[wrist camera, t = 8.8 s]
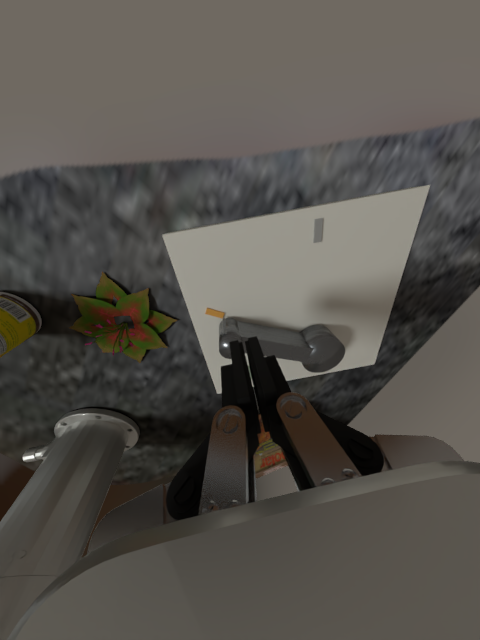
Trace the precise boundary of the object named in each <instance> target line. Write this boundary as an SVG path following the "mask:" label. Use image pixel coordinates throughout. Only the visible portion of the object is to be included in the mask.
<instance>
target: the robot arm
mask: <svg viewBox="0 0 480 640" xmlns="http://www.w3.org/2000/svg"><path fill="white" fill-rule="evenodd" d="M229 343H230V351H231V359H232V364H229V365H225V366H221V387H222V407H223V408H221V409H220V410H219V411H218V412H217V413H216V414H215V416H214V418H213V422H212V428H211V433H210V434H209V435H208V436H207V438H206V439H205V440H204V441H203V443H202V444H201V445H200V446H199V447H198V449H197V450H196V451H195V452H194V454H193V455H192V456H191V457H190V459H189V460H188V461H187V462H186V464H185V465H184V466H183V467H182V469H181V470H180V471H179V472H178V473H177V475H176V476H175V477H174V479H173V480H172V482H170V483H168V484H166V485H164V484H161V485H159V486H157V487H156V488H154V489H152V490H150V491H148V492H146V493H144V494H142V495H140V496H138V497H136V498H134V499H133V500H130V501H128V502H126V503H125V504H123V505H121V506H119V507H117V508H115V509H113V510H112V511H110V512H109V513H108V514H106V516H105V517H104V518H103V519H102V520H101V521H100V522H99V524H98V526H97V527H96V529H95V531H94V532H93V535H92V538H91V541H90V544H89V548H88V553H87V555H86V556H85V557H83V558H81V557H82V554H83V552H84V550H85V547H86V545H87V542H88V539H89V537H90V535H91V532H92V530H93V527H94V524H95V522H96V519H97V517H98V514H99V512H100V509H101V507H102V504H103V502H104V499H105V497H106V494H107V492H108V489H109V487H110V484H111V482H112V479H113V477H114V474H115V472H116V469H117V467H118V464H119V462H120V459H121V457H122V454H123V452H124V451H126V450H128V449H130V448H132V447H133V446H134V445H135V444H136V443H137V441H138V438H139V435H140V430H139V427H138V426H137V424H136V423H135V422H134V421H133V420H132V419H130V418H129V417H127V416H125V415H123V414H121V413H118V412H115V411H111V410H106V409H97V408H87V409H79V410H75V411H72V412H69V413H67V414H65V415H64V416H63V417H61V419H60V420H59V421H58V422H57V424H56V425H55V428H54V433H55V436H56V438H55V439H54V440H53V442H50V443H48V444H47V445H45V446H44V445H43V446H38V447H32V448H29V449H28V450H27V451H26V452H25V453H24V455H23V461H25V462H31V461H36V460H40V459H43V460H44V461H43V462H42V464H41V465H40V466H39V468H38V469H37V471H36V472H35V474H34V475H33V476H32V478H31V479H30V481H29V482H28V483H27V485H26V487H25V488H24V489H23V491H22V492H21V493H20V495H19V496H18V498H17V499H16V500H15V502H14V503H13V505H12V506H11V508H10V509H9V511H8V512H7V513H6V515H5V516H4V517H3V519H2V520H1V522H0V640H480V463H476V462H468V461H464V460H463V459H462V458H461V456H460V455H459V454H458V453H457V452H456V451H455V450H454V449H453V448H452V447H451V446H449V445H448V444H446V443H445V442H443V441H441V440H439V439H436V438H434V437H429V436H407V435H375V437H368V436H367V435H365V434H363V433H361V432H359V431H357V430H355V429H353V428H351V427H349V426H347V425H345V424H342V423H340V422H338V421H336V420H334V419H332V418H330V417H328V416H326V415H324V414H321V413H319V412H317V411H315V410H314V408H313V407H312V405H311V404H310V403H309V401H308V400H307V399H306V398H305V397H304V396H302V395H301V394H298V393H294V392H291V390H290V388H289V386H288V383H287V381H286V379H285V377H284V375H283V372H282V370H281V368H280V366H279V364H278V361H277V359H276V357H275V355H272V356H267V357H264V354H263V352H262V349H261V346H260V344H259V341H258V338H257V336H255V337H250V338H248V341H245V345H246V350H247V356H248V361H249V367H250V372H251V377H252V381H253V385H254V389H255V394H256V398H257V402H258V406H259V410H260V414H261V418H262V423H263V427H264V431H265V432H269V434H270V438H272V441H273V442H274V443H275V444H277V445H278V446H280V447H281V450H282V453H283V455H284V457H285V459H286V462H287V464H288V466H289V468H290V470H291V473H292V475H293V477H294V480H295V482H296V484H297V487H298V489H299V491H298V492H294V493H290V494H286V495H282V496H278V497H273V498H269V499H265V500H261V501H257V500H256V477H255V456H254V453H255V452H256V450H257V448H258V447H259V445H260V444H259V440H258V435H257V434H260V433H261V427H260V422H259V416H258V411H257V405H256V400H255V395H254V390H253V386H252V382H251V377H250V373H249V369H248V365H247V360H246V356H245V352H244V348H243V343H242V342H238V340H236V341H231V342H229Z"/></svg>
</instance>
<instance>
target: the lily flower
mask: <svg viewBox="0 0 480 640" xmlns="http://www.w3.org/2000/svg"><path fill="white" fill-rule="evenodd" d="M148 291H149V288H148V289H146V290H143V291H140V292H138V293H137V294H136V293H133V294H130V295H127V294H126V293H125V292H124V291H123V290H122V289H121V288H120V287H119V286H117V285H116V284H115V283H114V282H113V281H112V280H111V279H109V278H107V276H106V275H105V274H104V273H103V272H102V276H101V278H100V284H98V285H97V288H96V298H97V299H92V298H87V297H82V296H80V297H78V296H76V295H73V294H71V295H72V296H73V297H74V299H75V302H76V304H77V305H79V307H78V309H79V311H80V313H81V314H82V315H83V316H82V317H80V318H79V319H78V320H77V321H76V322H75V323H74V326H71V327H69V328H71V329H74V330H76V331H78V332H82V334H84V335H87V336H90V337H94V338H96V341H95V342H96V343H97V345H98V346H99V347H100V348H101V349H103V350H102V351H103V353H105V352H112V353H113V355H114V353H116V352H119V351H120V353H121V351H122V352H123V353H124V354H125V355H127V356H129V357H131V358H133V359H136V360H137V361H138V362H139V363H141V360H142V357H143V356H144V355H145V352H146V349H156V348H160V347H163V348H168V347H167V346H165V344H164V343H163V342H162V340H161V339H160V338H159V336H158V335H157V334H158V333H161V332H163V331H165V330H166V329H167V328H168V327H169V326H170V325H171V324H172V322H175V321H177V320H176V319H173V318H170V317H166V316H165V315H163V314H161V313H158V312H156V311H153V310H149V298H148V295H147V294H148ZM113 295H114V297H115V298H116V299H117V300H118V301H117V303H116V307H114V306H113V305H112V301H113ZM123 315H125V316H130V317H131V319H132V321H133V323H134V327H135V328H134V329H128V326H127V325H128V324H127V323H125V322H123V323H121V324H120V325H116V323H115V320H114V317H115V316H123ZM146 320H149V322H148V323H147V324H143V322H145V321H146ZM94 324H96V326H91V325H94ZM102 326H104V327H102ZM119 327H120V328H119ZM125 327H126V330H124V328H125ZM91 343H93V342H91ZM91 343H88V344H91ZM85 345H87V344H85ZM102 351H101V352H102Z"/></svg>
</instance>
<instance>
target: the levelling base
mask: <svg viewBox="0 0 480 640" xmlns="http://www.w3.org/2000/svg"><path fill="white" fill-rule="evenodd" d="M429 188H430V185H427V186H419V187H411V188H405V189H400V190H395V191H389V192H384V193H378V194H373V195H368V196H362V197H357V198H351V199H346V200H341V201H335V202H330V203H325V204H319V205H314V206H308V207H303V208H298V209H292V210H287V211H282V212H276V213H271V214H265V215H260V216H255V217H249V218H244V219H238V220H233V221H228V222H222V223H217V224H212V225H206V226H201V227H195V228H190V229H185V230H179V231H174V232H169V233H166V234H163V235H162V236H163V239H164V242H165V245H166V247H167V250H168V253H169V256H170V259H171V262H172V265H173V268H174V270H175V273H176V276H177V279H178V282H179V285H180V288H181V291H182V293H183V296H184V299H185V302H186V305H187V308H188V311H189V314H190V316H191V319H192V322H193V325H194V328H195V331H196V334H197V337H198V339H199V342H200V345H201V348H202V351H203V354H204V357H205V360H206V362H207V365H208V368H209V371H210V374H211V377H212V380H213V383H214V386H215V388H216V391H217V394H220V393H222V387H221V366H225V365H229V364H232V359H227V358H224V357H223V356H221V354H220V353H219V324H220V322H221V321H222V320H223V318H225V319H226V318H233V319H236V320H237V321H241V322H246V323H251V324H257V325H262V326H267V327H272V328H278V329H283V330H288V331H293V332H300V331H302V330H303V329H305V328H306V327H309V326H312V325H323V326H325V327H327V328H328V329H329V330H330V331H331V332H332V333H333V334H334V335H335V336H336V337H337V338H338V339H339V341H340V342H341V343H342V344H343V345H344V347H345V355H344V357H343V359H342V361H341V362H340V363H339V364H338V365H337V366H335V367H334V368H332V369H330V370H328V371H325V372H320V373H314V372H310V371H308V370H306V369H305V368H304V366H303V365H302V363H301V362H299V361H293V360H286V359H280V358H276V359H277V361H278V364H279V366H280V368H281V370H282V372H283V375H284V377H285V379H286V381H288V380H293V379H299V378H304V377H309V376H315V375H320V374H325V373H330V372H336V371H341V370H346V369H352V368H357V367H362V366H367V365H373V364H375V361H376V358H377V354H378V351H379V348H380V345H381V342H382V338H383V335H384V332H385V329H386V325H387V322H388V319H389V316H390V313H391V309H392V306H393V303H394V300H395V297H396V293H397V290H398V287H399V284H400V281H401V277H402V274H403V271H404V268H405V265H406V261H407V258H408V255H409V252H410V249H411V245H412V242H413V239H414V236H415V232H416V229H417V226H418V223H419V220H420V216H421V213H422V210H423V207H424V204H425V200H426V197H427V194H428V191H429ZM245 356H246V360H247V365H248V369H249V373H250V377H251V372H250V367H249V361H248V356H247V353H245ZM264 357H267V356H264ZM251 382H252V386H253V387H254V385H253V381H252V377H251Z"/></svg>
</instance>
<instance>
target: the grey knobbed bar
mask: <svg viewBox="0 0 480 640" xmlns="http://www.w3.org/2000/svg"><path fill="white" fill-rule="evenodd" d="M255 336H257V338H258V341H259V344H260V346H261V349H262V352H263V354H264V356H272V355H275V357H276V358H280V359H286V360H293V361H299V362H301V363H302V365H303V366H304V368H305V369H306V370H308V371H310V372H314V373H320V372H325V371H328V370H330V369H332V368H334V367H335V366H337V365H338V364H339V363H340V362H341V361H342V359H343V357H344V355H345V347H344V345H343V344H342V343H341V342H340V341H339V339H338V338H337V337H336V336H335V335H334V334H333V333H332V332H331V331H330V330H329V329H328V328H327V327H325V326H323V325H312V326H309V327H306V328H305V329H303V330H302V331H300V332H293V331H288V330H283V329H278V328H272V327H267V326H262V325H257V324H251V323H246V322H241V321H237V320H236V319H233V318H226V319H225V318H223V320H222V321H221V322H220V324H219V353H220V354H221V356H223V357H224V358H227V359H231V351H230V343H229V342H231V341H236V340H238V342H242V343H243V348H244V352H245V353H247V350H246V345H245V341H248V338H250V337H255Z"/></svg>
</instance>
